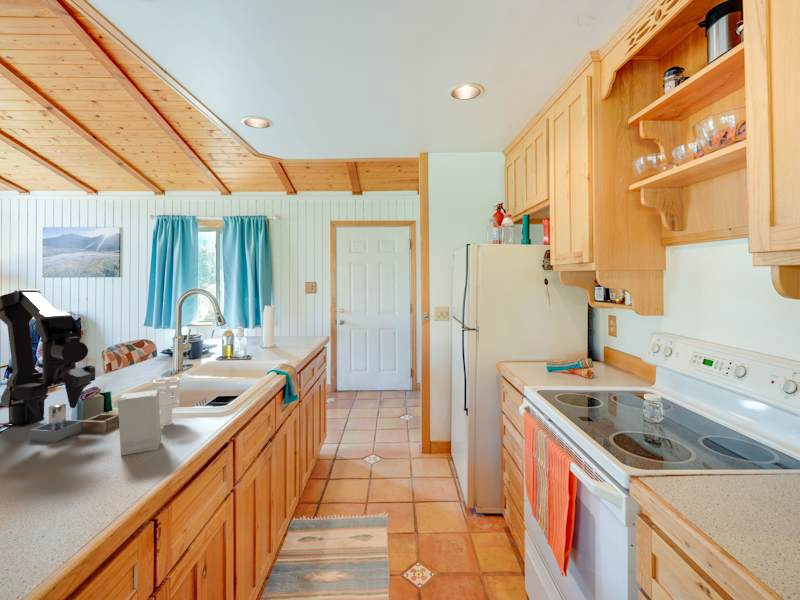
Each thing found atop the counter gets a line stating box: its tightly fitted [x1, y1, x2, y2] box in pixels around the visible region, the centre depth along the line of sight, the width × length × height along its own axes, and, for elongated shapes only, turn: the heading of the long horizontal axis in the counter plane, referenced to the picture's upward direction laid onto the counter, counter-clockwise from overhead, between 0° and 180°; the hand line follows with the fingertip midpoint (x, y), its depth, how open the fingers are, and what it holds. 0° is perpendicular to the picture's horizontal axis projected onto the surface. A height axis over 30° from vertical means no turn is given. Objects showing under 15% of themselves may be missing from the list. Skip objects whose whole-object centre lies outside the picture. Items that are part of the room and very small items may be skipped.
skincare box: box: [117, 389, 162, 456], centre depth 95 cm, size 8×6×15 cm
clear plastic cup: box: [152, 376, 181, 427], centre depth 112 cm, size 7×7×15 cm
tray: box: [29, 419, 84, 443], centre depth 102 cm, size 8×8×3 cm
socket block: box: [81, 413, 119, 433], centre depth 108 cm, size 7×7×3 cm
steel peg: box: [48, 403, 67, 430], centre depth 102 cm, size 4×4×8 cm
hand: (57, 413), depth 102 cm, fingers open, 9 cm apart
